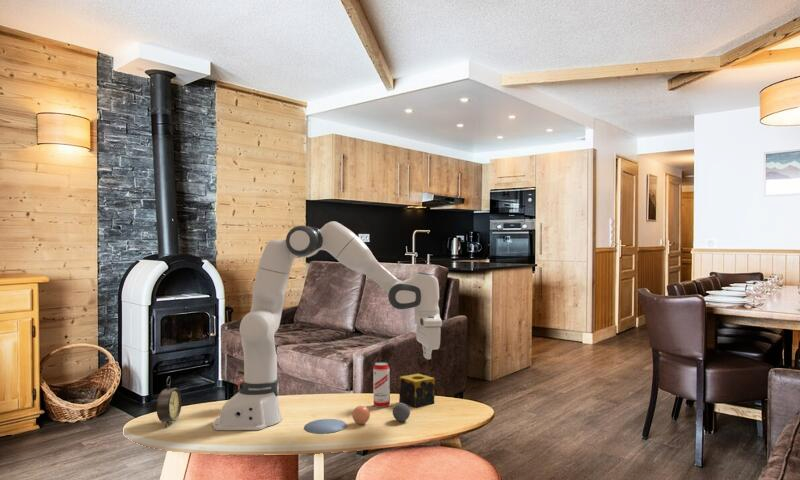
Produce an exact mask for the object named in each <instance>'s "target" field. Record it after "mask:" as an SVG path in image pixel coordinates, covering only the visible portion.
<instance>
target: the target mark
mask: <svg viewBox="0 0 800 480" xmlns="http://www.w3.org/2000/svg"><path fill="white" fill-rule="evenodd" d="M345 428H347V423H346V422H345V421H343V420H341V419H333V418H321V419H317V420H316V419H315V420H313V421H309V422H307V423H306V424H305V425H304V430H305V431H306V432H307V433H308V432H309V433H312V434H317V435H318V434H322V435H323V434H324V433H326V434H333V433H337V432H340V431H344V430H345Z"/></svg>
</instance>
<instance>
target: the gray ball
mask: <svg viewBox="0 0 800 480" xmlns="http://www.w3.org/2000/svg"><path fill="white" fill-rule="evenodd" d="M410 415H411V410H410V406H408V405H406V404H404V403H401V402H399V403H397V404H396V405H395V406H394V407H393V408H392V416H393V418H394V419H395V420H396V421H398V422H406V421H407V420H408V419H409V417H410Z"/></svg>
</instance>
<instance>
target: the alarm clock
mask: <svg viewBox="0 0 800 480" xmlns="http://www.w3.org/2000/svg"><path fill="white" fill-rule="evenodd" d="M168 380H169V381H168ZM168 382H169V384H168ZM171 382H172V381H171V376H168V377H167V378H166V386H167V388H164V389H162V391H160V393H159V395H158V396H157V401H156V416H157V418H158V419H159V421H160V422H161V424H163V423H165V427H164V428H166V429H168V425H169V423H170V422H176V421H177V420H178V419H179V417H180V414H181V412H182V411H181V410H182V394H181V391H180V389H179V388H177V387H173V388H171Z"/></svg>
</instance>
